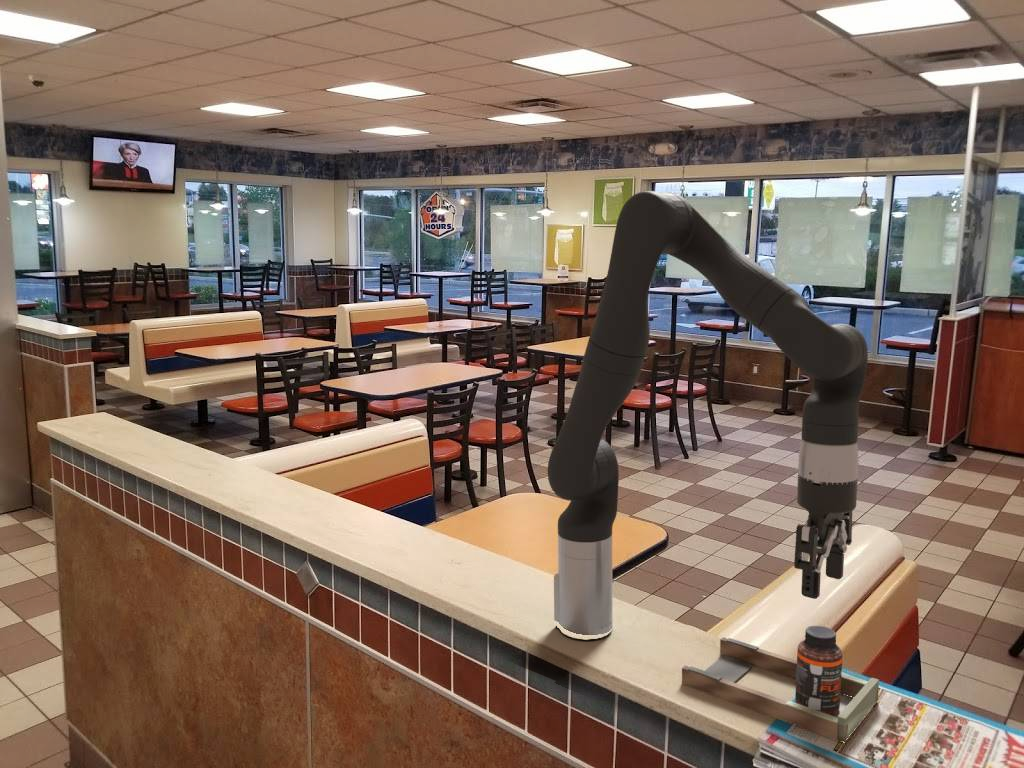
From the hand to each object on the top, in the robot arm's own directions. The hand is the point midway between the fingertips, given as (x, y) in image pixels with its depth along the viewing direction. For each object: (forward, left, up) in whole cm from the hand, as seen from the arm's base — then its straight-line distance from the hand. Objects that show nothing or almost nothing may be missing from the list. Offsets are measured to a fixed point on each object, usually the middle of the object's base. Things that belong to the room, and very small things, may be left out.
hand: (822, 586), depth 112 cm
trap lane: (-6, 0, -18) cm, 19 cm away
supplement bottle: (0, 0, -18) cm, 18 cm away
